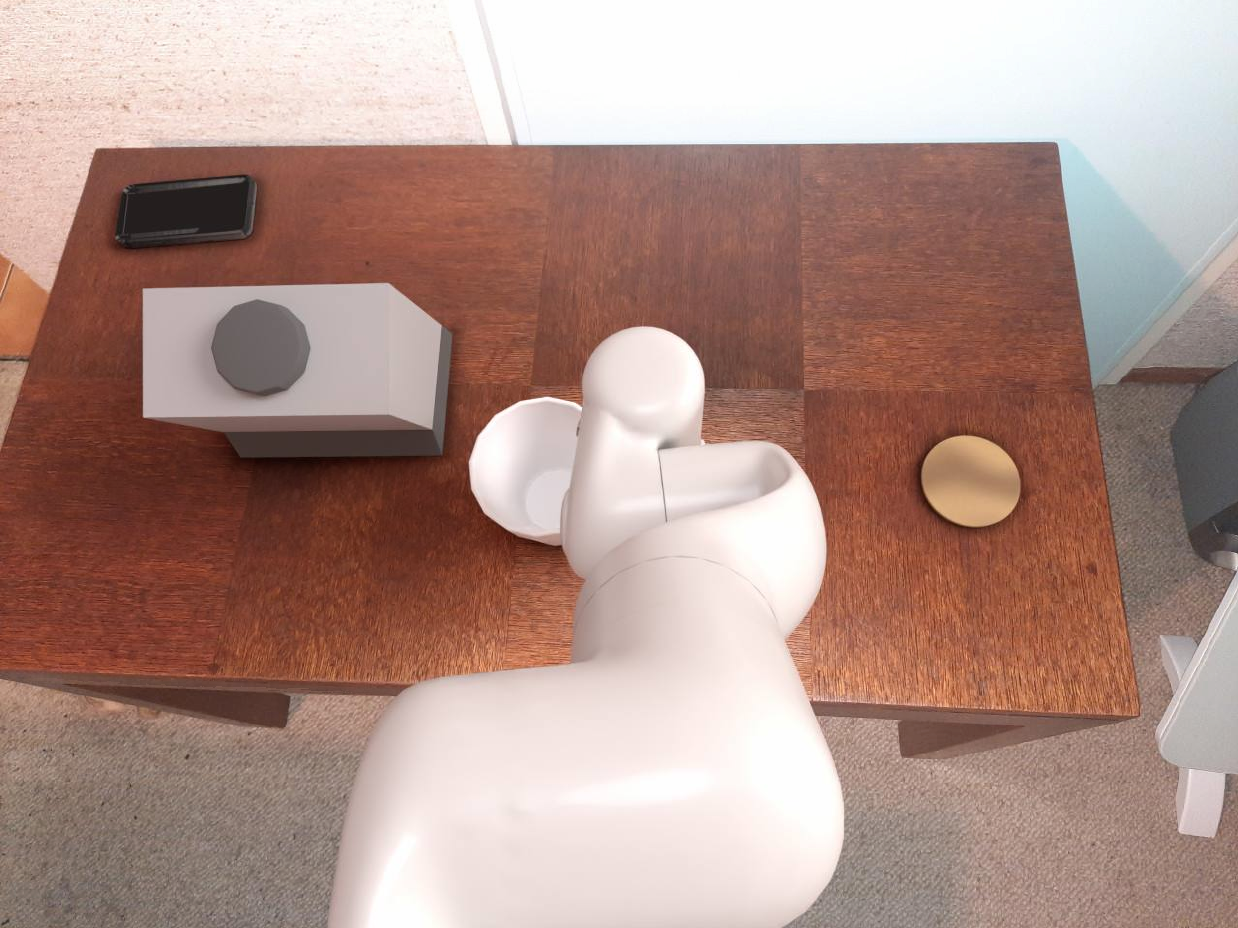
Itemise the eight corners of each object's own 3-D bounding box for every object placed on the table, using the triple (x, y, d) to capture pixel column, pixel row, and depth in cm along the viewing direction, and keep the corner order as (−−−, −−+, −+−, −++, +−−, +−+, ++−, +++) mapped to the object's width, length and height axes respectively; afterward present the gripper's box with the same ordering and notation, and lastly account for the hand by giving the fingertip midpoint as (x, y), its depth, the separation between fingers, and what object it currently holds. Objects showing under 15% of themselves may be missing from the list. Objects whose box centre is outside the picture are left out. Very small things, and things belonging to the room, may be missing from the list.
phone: (123, 185, 96) (253, 173, 96) (129, 191, 97) (258, 179, 97) (113, 244, 94) (247, 233, 93) (119, 250, 95) (252, 239, 94)
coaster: (1032, 517, 79) (1034, 516, 78) (937, 536, 79) (938, 534, 78) (1000, 428, 82) (1002, 427, 81) (908, 446, 82) (909, 445, 81)
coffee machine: (452, 334, 89) (392, 215, 70) (440, 478, 84) (371, 391, 64) (261, 337, 90) (150, 222, 71) (236, 479, 85) (110, 395, 66)
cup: (644, 472, 82) (640, 429, 72) (587, 588, 79) (574, 560, 69) (531, 423, 85) (511, 375, 75) (471, 533, 81) (441, 499, 71)
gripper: (534, 470, 62) (564, 534, 79) (738, 519, 60) (723, 574, 77) (563, 378, 64) (587, 460, 81) (760, 422, 62) (741, 497, 79)
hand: (653, 515), depth 79 cm, fingers closed
